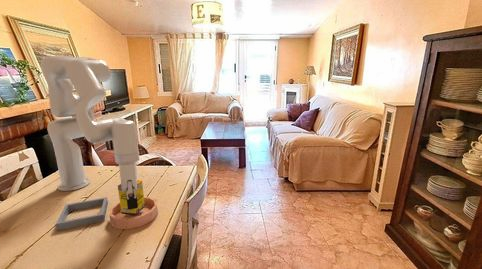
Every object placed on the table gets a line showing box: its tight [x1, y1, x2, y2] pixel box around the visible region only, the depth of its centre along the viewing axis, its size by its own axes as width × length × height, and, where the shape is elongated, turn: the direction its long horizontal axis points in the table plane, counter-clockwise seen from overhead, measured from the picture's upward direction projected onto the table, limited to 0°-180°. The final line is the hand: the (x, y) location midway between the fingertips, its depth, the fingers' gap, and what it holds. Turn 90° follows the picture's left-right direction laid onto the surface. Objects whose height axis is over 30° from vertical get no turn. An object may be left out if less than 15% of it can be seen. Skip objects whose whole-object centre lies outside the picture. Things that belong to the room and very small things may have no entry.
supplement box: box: [117, 179, 145, 215], centre depth 89 cm, size 6×6×11 cm
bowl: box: [108, 196, 159, 230], centre depth 90 cm, size 16×16×4 cm
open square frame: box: [55, 196, 109, 232], centre depth 91 cm, size 14×14×2 cm
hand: (133, 202), depth 89 cm, fingers closed on supplement box, 8 cm apart
